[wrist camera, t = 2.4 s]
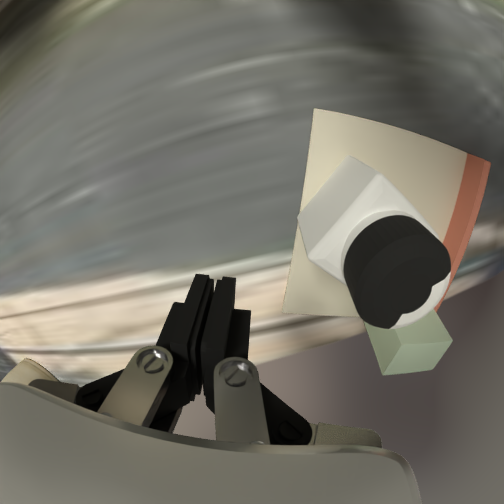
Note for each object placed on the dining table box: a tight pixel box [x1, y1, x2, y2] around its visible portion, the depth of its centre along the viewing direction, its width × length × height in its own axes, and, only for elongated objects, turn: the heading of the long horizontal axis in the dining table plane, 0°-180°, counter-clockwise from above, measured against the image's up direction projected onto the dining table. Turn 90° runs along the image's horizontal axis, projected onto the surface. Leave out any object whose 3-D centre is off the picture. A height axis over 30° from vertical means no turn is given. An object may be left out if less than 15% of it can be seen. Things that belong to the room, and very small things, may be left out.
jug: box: [2, 359, 59, 385], centre depth 33 cm, size 15×16×25 cm
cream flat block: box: [282, 108, 491, 317], centre depth 22 cm, size 20×17×3 cm
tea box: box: [363, 309, 453, 375], centre depth 23 cm, size 4×6×9 cm, turn 85°
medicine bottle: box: [297, 155, 451, 329], centre depth 17 cm, size 7×7×12 cm
